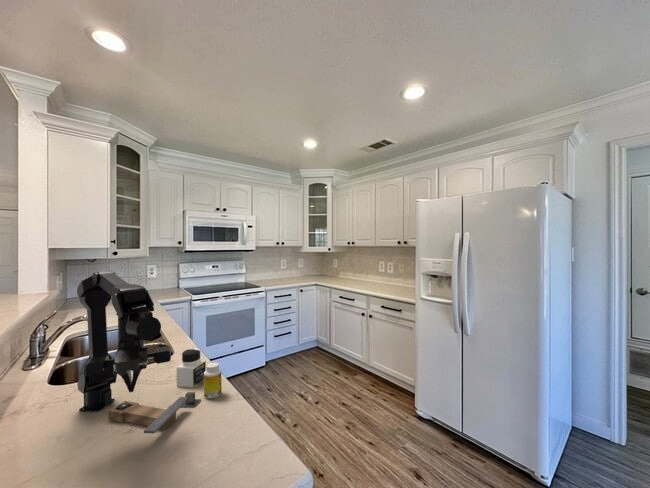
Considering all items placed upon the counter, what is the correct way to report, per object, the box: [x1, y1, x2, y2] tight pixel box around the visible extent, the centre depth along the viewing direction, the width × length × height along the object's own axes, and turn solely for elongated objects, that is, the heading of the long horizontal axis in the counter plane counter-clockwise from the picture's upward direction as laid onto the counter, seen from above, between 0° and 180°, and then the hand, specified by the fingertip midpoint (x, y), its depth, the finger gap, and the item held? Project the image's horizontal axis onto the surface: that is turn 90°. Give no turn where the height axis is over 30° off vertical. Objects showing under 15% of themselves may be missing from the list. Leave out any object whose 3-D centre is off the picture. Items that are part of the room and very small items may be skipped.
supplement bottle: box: [203, 362, 223, 400], centre depth 95 cm, size 6×6×10 cm
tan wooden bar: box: [107, 400, 177, 430], centre depth 81 cm, size 20×5×3 cm, turn 75°
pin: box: [118, 402, 129, 411], centre depth 83 cm, size 3×3×4 cm
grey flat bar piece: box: [143, 391, 202, 434], centre depth 81 cm, size 5×21×4 cm, turn 176°
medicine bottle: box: [176, 347, 207, 389], centre depth 103 cm, size 7×7×12 cm
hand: (131, 391), depth 75 cm, fingers closed
